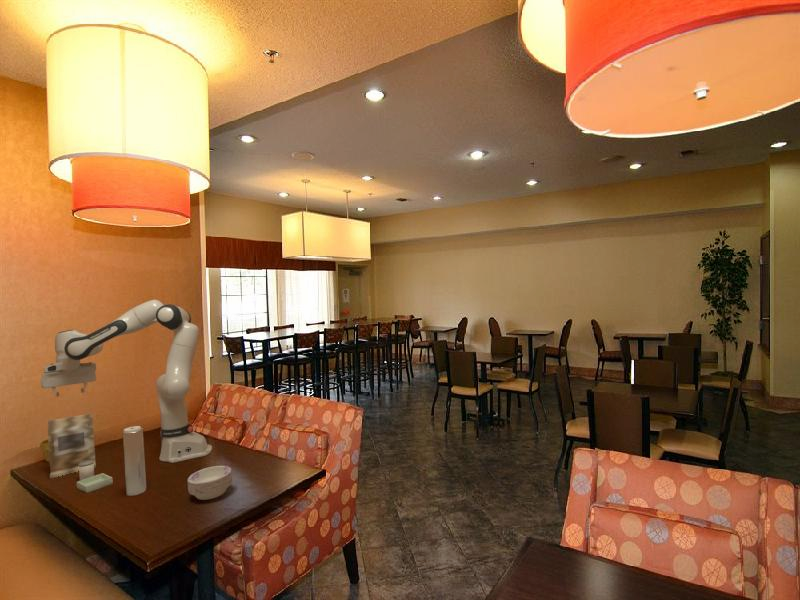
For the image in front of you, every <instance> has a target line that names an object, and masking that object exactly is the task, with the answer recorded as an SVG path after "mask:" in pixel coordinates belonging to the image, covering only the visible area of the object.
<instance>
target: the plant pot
mask: <svg viewBox="0 0 800 600" xmlns="http://www.w3.org/2000/svg"><path fill="white" fill-rule="evenodd" d="M39 446H40V448H39V449H40V451H42V453H43V456H44V459H45V461H46V462H47V461H50V455H49V439H45V440H42V441H40V443H39Z"/></svg>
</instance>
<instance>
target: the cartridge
mask: <svg viewBox="0 0 800 600" xmlns="http://www.w3.org/2000/svg"><path fill="white" fill-rule="evenodd" d="M78 476H79V481H81V480H84V479H87V478H90V477H93V476H95V468H94V460H86V461H83V462H80V463H79V472H78Z"/></svg>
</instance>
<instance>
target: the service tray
mask: <svg viewBox="0 0 800 600" xmlns="http://www.w3.org/2000/svg"><path fill="white" fill-rule="evenodd" d="M113 479H114V478H113V477H112V476H110V475H109V474H108V475H107V474H106V473H103V472H102V473H100V474H96V475H94V476H93V477H90V478H87V479H84V480H81V481H80V480H78V481H76V488H77V489H78V490H80V491H81V492H83V493H85V494H88V493H90V492H93V491H96V490H99V489H102V488H105V487H107V486H110V485H113V484H114V482H113V481H114V480H113Z"/></svg>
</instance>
